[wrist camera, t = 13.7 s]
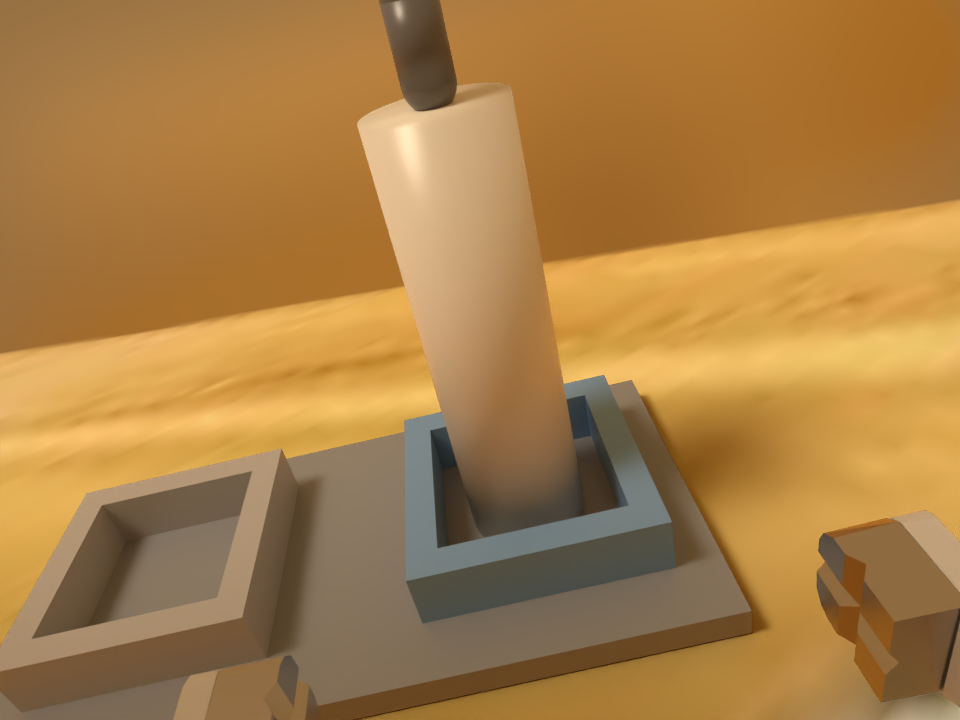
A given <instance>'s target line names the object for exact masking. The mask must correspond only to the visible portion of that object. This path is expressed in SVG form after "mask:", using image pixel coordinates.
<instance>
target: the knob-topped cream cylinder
mask: <svg viewBox="0 0 960 720" xmlns="http://www.w3.org/2000/svg"><path fill="white" fill-rule="evenodd" d="M379 4H380V8H381V12H382V16H383V19H384V24H385V27H386V31H387V35H388V39H389V43H390V47H391V51H392V55H393V59H394V63H395V67H396V70H397V74H398V78H399V82H400V86H401V90H402V93H403V96H404V98H405V99H402V100H399V101H396V102H394V103H391V104H388V105H386V106H383V107H381V108H379V109H376V110H374V111H372V112H370V113H369V114H367V115H365V116H364V117H363V118H361V119H360V120H359V121H358V123H357V126H358V130H359V133H360V136H361V140H362V143H363V147H364V150H365V153H366V156H367V160H368V163H369V167H370V170H371V174H372V177H373V180H374V184H375V187H376V191H377V194H378V197H379V201H380V204H381V207H382V211H383V214H384V218H385V221H386V225H387V228H388V231H389V235H390V238H391V242H392V245H393V248H394V252H395V255H396V259H397V262H398V265H399V269H400V272H401V276H402V279H403V282H404V286H405V289H406V293H407V296H408V299H409V303H410V306H411V309H412V313H413V316H414V320H415V323H416V326H417V330H418V333H419V337H420V340H421V343H422V347H423V350H424V354H425V357H426V360H427V364H428V367H429V371H430V374H431V377H432V381H433V384H434V388H435V391H436V394H437V398H438V401H439V405H440V408H441V411H442V415H443V418H444V421H445V425H446V428H447V432H448V435H449V438H450V442H451V445H452V449H453V452H454V455H455V459H456V462H457V466H458V469H459V472H460V476H461V479H462V483H463V486H464V489H465V493H466V496H467V500H468V503H469V506H470V510H471V513H472V516H473V520H474V523H475V526H476V528H477V529H478V531H479V532H480V533H481V534H482V536H483V537H485V538H486V537H491V536H495V535H499V534H504V533H508V532H513V531H517V530H522V529H526V528H531V527H535V526H540V525H544V524H549V523H553V522H558V521H562V520H567V519H571V518H575V517H580V516H581V514H582V511H583V507H584V497H583V491H582V486H581V480H580V474H579V468H578V463H577V457H576V451H575V446H574V440H573V434H572V429H571V423H570V417H569V412H568V406H567V400H566V395H565V389H564V383H563V378H562V372H561V366H560V361H559V355H558V349H557V344H556V338H555V332H554V327H553V321H552V315H551V310H550V304H549V298H548V293H547V287H546V281H545V275H544V270H543V264H542V259H541V253H540V247H539V242H538V236H537V230H536V224H535V219H534V213H533V208H532V202H531V196H530V191H529V185H528V179H527V173H526V168H525V162H524V156H523V151H522V145H521V139H520V134H519V128H518V123H517V117H516V111H515V105H514V100H513V94H512V89H511V86H509V85H507V84H503V83H477V84H476V83H475V84H467V85H460V86H457V80H456V74H455V70H454V65H453V61H452V56H451V51H450V46H449V42H448V37H447V32H446V28H445V23H444V18H443V14H442V9H441V4H440V0H379Z"/></svg>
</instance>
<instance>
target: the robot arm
mask: <svg viewBox="0 0 960 720" xmlns="http://www.w3.org/2000/svg"><path fill="white" fill-rule="evenodd" d="M818 551H819V553H820V554H821V556H822V557H823V559H824V560H825V563H824V564H823V565H822V566H821V567H820V568H819V569H818V571H817V590H818V594H819V598H820V601H821V605H822V607H823V609H824V611H825V614H826V616H827V618H828V620H829V621H830V623H831V625H832V626H833V628H834V630H835V631H836V633H837V634H838V635H840V636H842V637H843V638H845V639H847V640H848V641H850V642H852V643H854V644H855V645H856V648H855V658H854V661H855V663H856V665H857V666H858V668H859V669H860V671H861V672H862V674H863V676H864V677H865V679H866V680H867V682H868V683H869V685H870V686H871V688H872V690H873V691H874V693H875V694H876V696H877V697H878V699H879V701H880V702H881V703H884V702H889V701H894V700H899V699H905V698H910V697H915V696H921V695H926V694H931V693H936V692H942V691H943V692H942V695H943V696H944V697H946V698H947V699H949V700H950V701H952V702H953V703H954V704H956V705H957V706H959V707H960V541H959V540H958V539H957V538H956V537H955V536H954V535H953V534H952V533H951V532H950V531H949V530H948V529H947V528H946V526H945V525H944V524H943V523H942V522H941V521H940V520H939V519H938V518H937V517H936V516H935V515H934V514H932V513H930V512H928V511H926V510H925V511H919V512H915V513H910V514H906V515H902V516H897V517H893V518H890V519H888V518H885V519H881V520H877V521H872V522H868V523H864V524H860V525H856V526H852V527H848V528H843V529H839V530H835V531H831V532H827V533H823V535H822V536H821V538H820V539H819V549H818ZM298 672H299V667H298V665H297V664H296V662H295V661H294V659H293V658H292V656H291V655H289V656H284V657H279V658H273V659H268V660H263V661H258V662H253V663H248V664H243V665H238V666H233V667H228V668H223V669H218V670H213V671H209V672H204V673H200V674H195V675H190V677H189V678H188V680H187V681H186V683H185V684H184V686H183V687H182V691H181V694H180V697H179V701H178V704H177V708H176V711H175V714H174V718H173V720H320V719H319V708H318V705H317V702H316V698H315V695H314V693H313V691H312V689H311V688H310V686H309V685H308V684H305V683H303V682H301V681H299V680H298Z"/></svg>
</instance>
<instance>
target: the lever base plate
mask: <svg viewBox="0 0 960 720" xmlns="http://www.w3.org/2000/svg"><path fill="white" fill-rule="evenodd" d="M564 389H565V395H566V400H567V406H568V412H569V417H570V423H571V429H572V434H573V440H574V446H575V451H576V457H577V463H578V468H579V474H580V480H581V486H582V491H583V497H584V507H583V511H582V514H581V516H580V517H575V518H571V519H567V520H562V521H558V522H553V523H549V524H544V525H540V526H535V527H531V528H526V529H522V530H517V531H513V532H508V533H504V534H499V535H495V536H491V537H486V538H485V537H483V536H482V534H481V533H480V532H479V531H478V529H477V528H476V526H475V523H474V520H473V516H472V513H471V510H470V506H469V503H468V500H467V496H466V493H465V489H464V486H463V483H462V479H461V476H460V472H459V469H458V466H457V462H456V459H455V455H454V452H453V449H452V445H451V442H450V438H449V435H448V432H447V428H446V425H445V421H444V418H443V415H442V412H440V413H436V414H431V415H427V416H422V417H418V418H414V419H409V420H405V432H402V433H398V434H394V435H389V436H385V437H380V438H376V439H372V440H367V441H363V442H359V443H354V444H350V445H345V446H341V447H337V448H332V449H328V450H324V451H319V452H315V453H310V454H306V455H302V456H297V457H293V458H288V459H286V457H285V455H284V453H283V451H282V449H278V450H274V451H269V452H265V453H261V454H256V455H252V456H248V457H243V458H239V459H235V460H230V461H226V462H221V463H217V464H213V465H208V466H204V467H200V468H195V469H191V470H186V471H182V472H178V473H173V474H169V475H165V476H160V477H156V478H151V479H147V480H143V481H138V482H134V483H130V484H125V485H121V486H117V487H112V488H108V489H103V490H99V491H95V492H90V493H87V494H86V496H85V497H84V499H83V501H82V503H81V505H80V506H79V508H78V510H77V512H76V513H75V515H74V517H73V519H72V520H71V522H70V524H69V526H68V528H67V529H66V531H65V533H64V535H63V536H62V538H61V540H60V542H59V544H58V545H57V547H56V549H55V551H54V552H53V554H52V556H51V558H50V559H49V561H48V563H47V565H46V567H45V568H44V570H43V572H42V574H41V575H40V577H39V579H38V581H37V583H36V584H35V586H34V588H33V590H32V591H31V593H30V595H29V597H28V598H27V600H26V602H25V604H24V606H23V607H22V609H21V611H20V613H19V614H18V616H17V618H16V620H15V622H14V623H13V625H12V627H11V629H10V630H9V632H8V634H7V636H6V638H5V639H4V641H3V643H2V645H1V646H0V720H173V718H174V714H175V711H176V708H177V704H178V701H179V697H180V694H181V691H182V687H183V686H184V684H185V683H186V681H187V680H188V678H189V677H190V675H195V674H200V673H204V672H209V671H213V670H218V669H223V668H228V667H233V666H238V665H243V664H248V663H253V662H258V661H263V660H268V659H273V658H279V657H284V656H289V655H291V656H292V658H293V659H294V661H295V662H296V664H297V665H298V667H299V672H298V680H299V681H301V682H303V683H305V684H308V685H309V686H310V688H311V689H312V691H313V693H314V695H315V698H316V702H317V705H318V708H319V719H320V720H354V719H359V718H363V717H368V716H372V715H377V714H382V713H386V712H391V711H395V710H400V709H405V708H409V707H414V706H418V705H423V704H428V703H432V702H437V701H441V700H446V699H450V698H455V697H460V696H464V695H469V694H473V693H478V692H483V691H487V690H492V689H496V688H501V687H506V686H510V685H515V684H519V683H524V682H528V681H533V680H538V679H542V678H547V677H551V676H556V675H561V674H565V673H570V672H574V671H579V670H583V669H588V668H593V667H597V666H602V665H606V664H611V663H616V662H620V661H625V660H629V659H634V658H639V657H643V656H648V655H652V654H657V653H661V652H666V651H671V650H675V649H680V648H684V647H689V646H694V645H698V644H703V643H707V642H712V641H717V640H721V639H726V638H730V637H735V636H739V635H744V634H749V633H752V610H751V608H750V606H749V604H748V602H747V600H746V599H745V597H744V595H743V593H742V591H741V589H740V587H739V585H738V583H737V581H736V579H735V577H734V575H733V574H732V572H731V570H730V568H729V566H728V564H727V562H726V560H725V558H724V556H723V554H722V552H721V551H720V549H719V547H718V545H717V543H716V541H715V539H714V537H713V535H712V533H711V531H710V529H709V528H708V526H707V524H706V522H705V520H704V518H703V516H702V514H701V512H700V510H699V508H698V506H697V504H696V503H695V501H694V499H693V497H692V495H691V493H690V491H689V489H688V487H687V485H686V483H685V481H684V480H683V478H682V476H681V474H680V472H679V470H678V468H677V466H676V464H675V462H674V460H673V458H672V457H671V455H670V453H669V451H668V449H667V447H666V445H665V443H664V441H663V439H662V437H661V435H660V433H659V432H658V430H657V428H656V426H655V424H654V422H653V420H652V418H651V416H650V414H649V412H648V410H647V409H646V407H645V405H644V403H643V401H642V399H641V397H640V395H639V393H638V391H637V389H636V387H635V386H634V384H633V382H632V380H630V381H626V382H621V383H617V384H612V385H608V383H607V381H606V378H605V376H604V375H602V376H597V377H593V378H588V379H584V380H580V381H575V382H571V383H567V384H564Z"/></svg>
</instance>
